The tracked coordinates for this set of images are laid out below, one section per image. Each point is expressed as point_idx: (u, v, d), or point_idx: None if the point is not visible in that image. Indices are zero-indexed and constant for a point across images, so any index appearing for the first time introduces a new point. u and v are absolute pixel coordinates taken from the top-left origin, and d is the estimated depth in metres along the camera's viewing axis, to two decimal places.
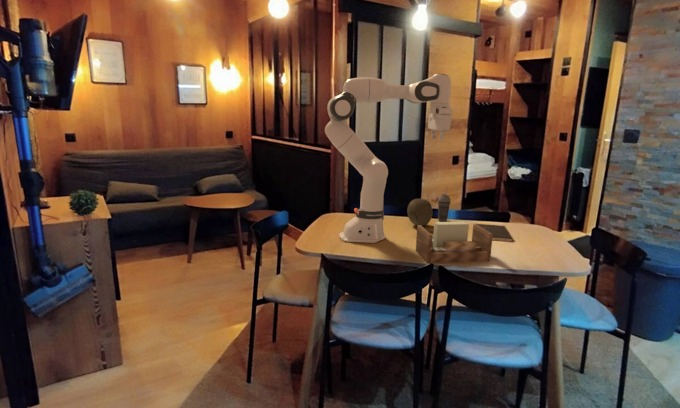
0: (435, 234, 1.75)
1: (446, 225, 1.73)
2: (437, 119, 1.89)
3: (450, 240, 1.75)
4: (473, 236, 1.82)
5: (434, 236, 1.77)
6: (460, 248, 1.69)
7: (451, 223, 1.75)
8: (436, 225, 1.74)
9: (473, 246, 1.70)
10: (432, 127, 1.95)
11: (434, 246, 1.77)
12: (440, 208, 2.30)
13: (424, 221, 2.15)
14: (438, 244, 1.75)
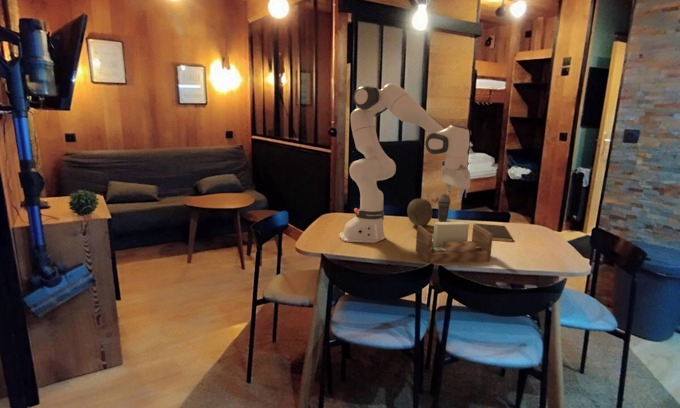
0: (435, 234, 1.75)
1: (446, 225, 1.73)
2: None
3: (450, 240, 1.75)
4: (473, 236, 1.82)
5: (434, 236, 1.77)
6: (460, 248, 1.69)
7: (451, 223, 1.75)
8: (436, 225, 1.74)
9: (473, 246, 1.70)
10: None
11: (434, 246, 1.77)
12: (440, 208, 2.30)
13: (424, 221, 2.15)
14: (438, 244, 1.75)
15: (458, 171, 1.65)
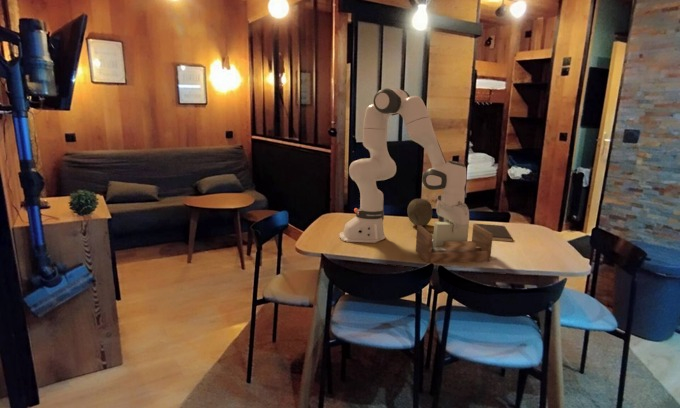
0: (435, 234, 1.75)
1: (446, 225, 1.73)
2: None
3: (450, 240, 1.75)
4: (473, 236, 1.82)
5: (434, 236, 1.77)
6: (460, 248, 1.69)
7: (451, 223, 1.75)
8: (436, 225, 1.74)
9: (473, 245, 1.70)
10: None
11: (434, 246, 1.77)
12: None
13: (424, 221, 2.15)
14: (438, 244, 1.75)
15: (457, 208, 1.68)
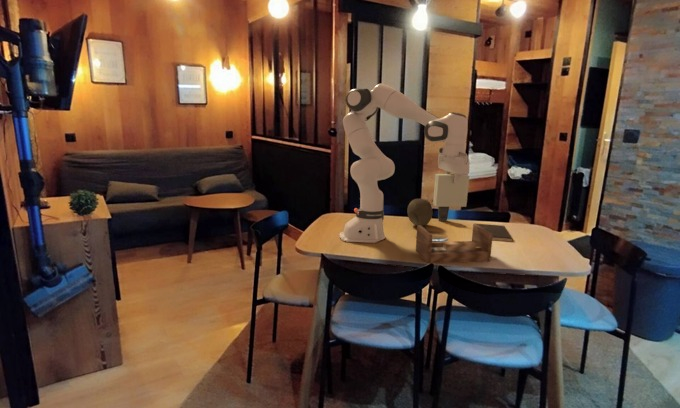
0: (436, 185, 1.79)
1: (447, 176, 1.76)
2: None
3: (451, 191, 1.78)
4: (473, 236, 1.82)
5: (435, 187, 1.80)
6: (460, 248, 1.69)
7: (452, 174, 1.78)
8: (437, 176, 1.77)
9: (473, 246, 1.70)
10: None
11: (435, 197, 1.80)
12: (440, 208, 2.30)
13: (424, 221, 2.15)
14: (439, 195, 1.78)
15: (457, 158, 1.71)
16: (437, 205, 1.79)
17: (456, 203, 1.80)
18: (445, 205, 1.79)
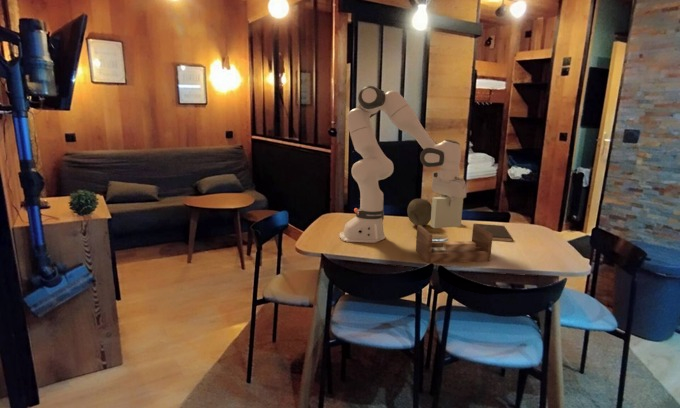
0: (434, 208, 1.89)
1: (444, 199, 1.87)
2: None
3: (447, 213, 1.89)
4: (473, 236, 1.82)
5: (432, 210, 1.90)
6: (460, 248, 1.69)
7: (447, 197, 1.89)
8: (435, 200, 1.87)
9: (473, 246, 1.70)
10: None
11: (433, 219, 1.90)
12: None
13: (424, 221, 2.15)
14: (437, 217, 1.88)
15: (454, 182, 1.82)
16: (435, 227, 1.89)
17: (452, 224, 1.91)
18: (442, 226, 1.90)
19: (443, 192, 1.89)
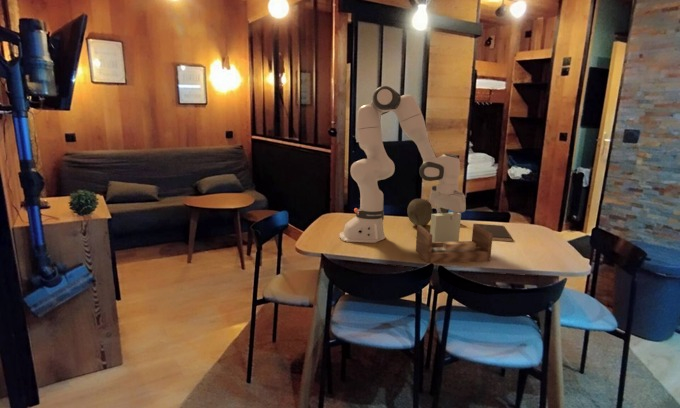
0: (433, 225, 1.90)
1: (443, 216, 1.89)
2: None
3: (446, 229, 1.91)
4: (473, 236, 1.82)
5: (432, 227, 1.91)
6: (460, 248, 1.69)
7: (446, 214, 1.91)
8: (434, 216, 1.89)
9: (473, 246, 1.70)
10: None
11: (432, 236, 1.91)
12: (440, 208, 2.30)
13: (424, 221, 2.15)
14: (436, 234, 1.90)
15: (454, 196, 1.84)
16: None
17: (450, 240, 1.93)
18: None
19: (442, 205, 1.91)
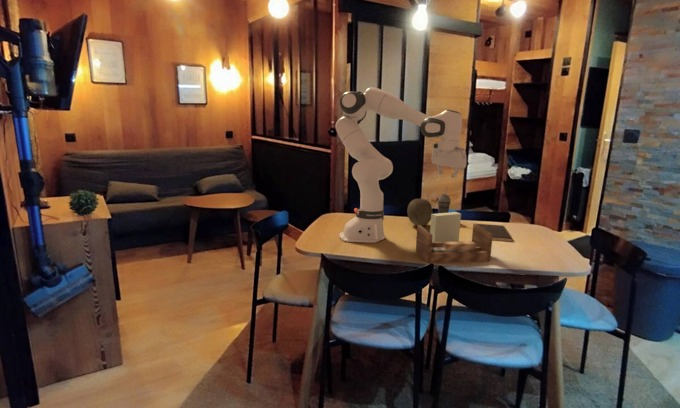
0: (433, 225, 1.90)
1: (443, 216, 1.89)
2: None
3: (446, 229, 1.91)
4: (473, 236, 1.82)
5: (432, 227, 1.91)
6: (459, 248, 1.69)
7: (446, 214, 1.91)
8: (434, 216, 1.89)
9: (472, 246, 1.70)
10: None
11: (432, 236, 1.91)
12: (440, 208, 2.30)
13: (424, 221, 2.15)
14: (436, 234, 1.90)
15: (455, 152, 1.81)
16: None
17: (450, 240, 1.93)
18: None
19: (443, 163, 1.88)
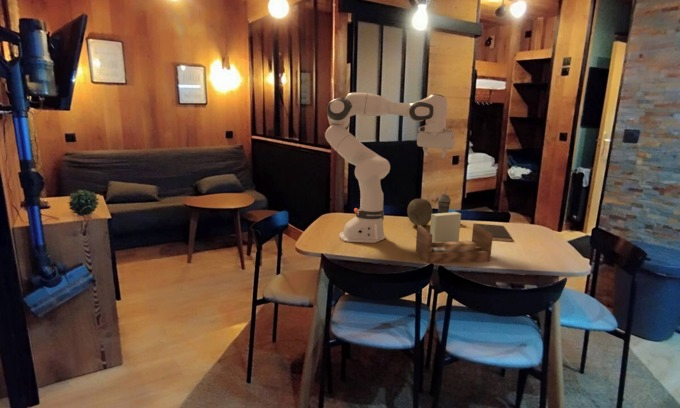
0: (433, 225, 1.90)
1: (443, 216, 1.89)
2: None
3: (446, 229, 1.91)
4: (473, 236, 1.82)
5: (432, 227, 1.91)
6: (459, 248, 1.69)
7: (446, 214, 1.91)
8: (434, 216, 1.89)
9: (472, 246, 1.70)
10: None
11: (432, 236, 1.91)
12: (440, 208, 2.30)
13: (424, 221, 2.15)
14: (436, 234, 1.90)
15: (443, 134, 1.93)
16: None
17: (450, 240, 1.93)
18: None
19: (431, 145, 2.00)
